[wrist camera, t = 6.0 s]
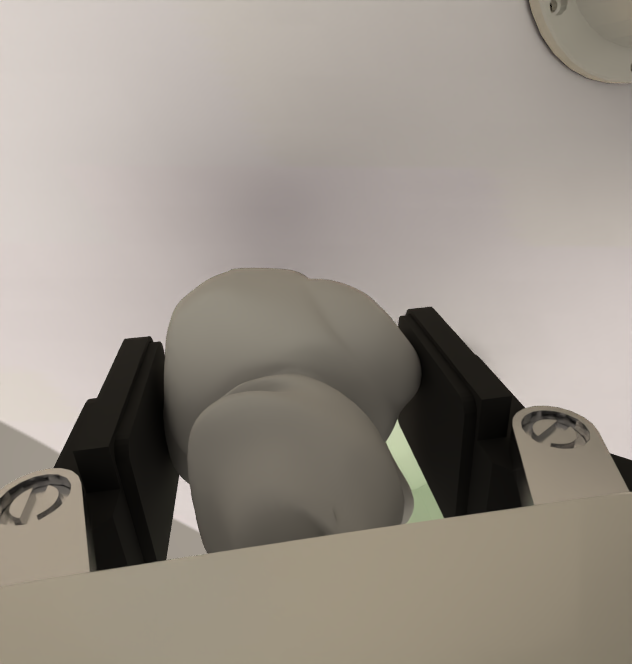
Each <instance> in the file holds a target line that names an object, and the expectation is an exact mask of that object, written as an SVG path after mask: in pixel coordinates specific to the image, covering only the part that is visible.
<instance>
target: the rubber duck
mask: <svg viewBox="0 0 632 664" xmlns="http://www.w3.org/2000/svg"><path fill="white" fill-rule="evenodd" d="M421 377H422V368H421V363H420V359H419V357H418V355H417V352H416V351H415V349H414V348H413V346H412V345H411V344H410V342H409V341H408V340H407V338H406V337H405V336H404V334H403V333H402V332H401V330H400V329H399V328H398V326H397V325H396V324H395V323H394V321H393V320H392V319H391V317H390V316H389V315H388V314H387V313H386V312H385V311H384V310H383V309H382V308H381V307H380V306H379V305H378V304H377V303H376V302H375V301H374V300H373V299H372V298H371V297H369V296H368V295H366V294H365V293H363V292H361V291H360V290H358V289H356V288H353V287H351V286H349V285H346V284H343V283H340V282H336V281H332V280H326V279H309V278H307V277H306V276H305V275H303V274H301V273H299V272H296V271H293V270H286V269H273V268H238V269H231V270H230V271H228V272H225V273H222V274H219V275H216V276H214V277H212V278H210V279H208V280H206V281H205V282H203V283H202V284H200V285H199V286H198V287H196V288H195V289H194V290H193V291H191V292H190V293H189V294H188V295H186V296H185V297H184V298H183V299H182V300H181V301H180V302H179V303H178V305H177V306H176V308H175V310H174V312H173V314H172V317H171V320H170V323H169V327H168V331H167V336H166V349H165V365H164V408H163V421H164V431H165V438H166V442H167V446H168V451H169V455H170V457H171V460H172V463H173V465H174V467H175V469H176V471H177V472H178V473H179V475H180V476H181V477H182V478H183V479H184V480H185V481H186V482H187V483H189V484H190V489H191V496H192V501H193V505H194V509H195V514H196V520H197V524H198V528H199V532H200V535H201V539H202V542H203V545H204V548H205V549H206V551H207V553H208V554H209V553H215V552H222V551H229V550H235V549H242V548H248V547H255V546H262V545H268V544H275V543H281V542H288V541H294V540H301V539H308V538H314V537H321V536H327V535H334V534H341V533H347V532H354V531H361V530H368V529H374V528H381V527H388V526H395V525H401V524H406V523H407V522H408V521H409V519H410V517H411V515H412V513H413V509H414V498H413V494H412V491H411V488H410V486H409V484H408V482H407V480H406V478H405V477H404V475H403V473H402V472H401V470H400V469H399V467H398V465H397V463H396V461H395V460H394V458H393V456H392V454H391V452H390V450H389V448H388V446H387V443H386V441H387V439H388V438H389V436H390V434H391V433H392V431H393V429H394V427H395V424H396V422H397V419H398V416H399V414H400V412H401V411H402V409H403V408H404V407H405V405H406V404H407V403H408V402H409V401H410V400H411V399H412V398H413V397H414V395H415V394H416V392H417V391H418V388H419V386H420V383H421Z"/></svg>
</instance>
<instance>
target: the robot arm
mask: <svg viewBox="0 0 632 664" xmlns="http://www.w3.org/2000/svg"><path fill="white" fill-rule="evenodd" d="M529 2H530V7H531V12H532V14H533V16H534V19H535V21H536V24H537V26H538V29H539V31H540V33H541V36H542V37H543V38H544V40H545V41H546V43H547V44H548V46H549V47H550V49H551V50H552V52H553V53H554V54H555V55H556V56H557V57H558V58H559V59H560V60H561V61H562V62H563V63H564V64H565V65H567V66H568V67H569V68H570V69H572V70H573V71H575V72H577V73H579V74H581V75H583V76H585V77H586V78H589V79H593V80H597V81H601V82H605V83H632V0H529ZM550 3H551V4H552V10H551V11H550ZM398 328H399V329H400V330H401V332H402V333H403V334H404V336H405V337H406V338H407V340H408V341H409V342H410V344H411V345H412V346H413V348H414V349H415V351H416V352H417V355H418V357H419V359H420V363H421V368H422V377H421V383H420V386H419V388H418V391H417V392H416V394H415V395H414V397H413V398H412V399H411V400H410V401H409V402H408V403H407V404H406V405H405V407H404V408H403V409H402V411H401V412H400V414H399V416H398V423H399V425H400V428H401V430H402V432H403V434H404V436H405V438H406V440H407V442H408V444H409V446H410V448H411V451H412V453H413V455H414V457H415V459H416V461H417V463H418V465H419V467H420V469H421V471H422V473H423V475H424V478H425V480H426V482H427V484H428V486H429V488H430V490H431V492H432V494H433V496H434V498H435V500H436V502H437V505H438V507H439V509H440V511H441V513H442V515H443V517H444V518H442V519H436V520H429V521H422V522H415V523H408V524H401V525H395V526H388V527H381V528H374V529H368V530H361V531H354V532H347V533H341V534H334V535H327V536H321V537H314V538H308V539H301V540H294V541H288V542H281V543H275V544H268V545H262V546H255V547H248V548H242V549H235V550H229V551H222V552H215V553H209V554H202V555H196V556H189V557H184V558H176V559H170V560H166V558H167V551H168V545H169V538H170V532H171V525H172V519H173V512H174V506H175V499H176V493H177V486H178V480H179V473H178V472H177V471H176V469H175V467H174V465H173V463H172V460H171V457H170V455H169V451H168V446H167V442H166V438H165V431H164V421H163V408H164V365H165V354H164V350H163V346H162V343H161V342H153V340H152V338H151V336H148V337H138V338H129V339H124V341H123V343H122V345H121V347H120V349H119V351H118V354H117V356H116V358H115V360H114V362H113V364H112V367H111V369H110V371H109V373H108V375H107V377H106V380H105V382H104V384H103V386H102V388H101V390H100V393H99V395H98V397H97V398H93V399H89V400H87V402H86V403H85V405H84V407H83V409H82V411H81V413H80V415H79V417H78V419H77V421H76V423H75V425H74V427H73V429H72V431H71V433H70V435H69V438H68V440H67V442H66V444H65V446H64V448H63V450H62V452H61V454H60V456H59V458H58V460H57V462H56V464H55V466H54V468H49V469H44V470H39V471H35V472H32V473H29V474H27V475H24V476H22V477H20V478H17V479H16V480H14V481H12V482H11V483H9V484H7V485H6V486H4V487H3V488H2V489H1V490H0V664H632V460H629V459H626V458H623V457H620V456H617V455H614V454H611V453H609V451H608V449H607V447H606V445H605V443H604V441H603V439H602V437H601V435H600V433H599V431H598V430H597V429H596V428H595V426H594V425H593V424H592V423H591V422H590V421H588V420H587V419H585V418H584V417H583V416H580V415H578V414H576V413H574V412H572V411H569V410H565V409H562V408H559V407H551V406H532V407H528V408H525V407H524V406H523V405H522V404H521V403H520V402H519V401H518V399H517V398H516V397H515V396H514V395H513V394H512V393H511V392H510V391H509V390H508V388H507V387H506V386H505V385H504V384H503V383H502V382H501V381H500V380H499V379H498V377H497V376H496V375H495V374H494V373H493V372H492V371H491V370H490V369H489V368H488V366H487V365H486V364H485V363H484V362H483V361H482V360H481V359H480V358H479V357H478V356H477V355H475V354H474V353H473V352H472V351H471V350H470V348H469V347H468V346H467V345H466V344H465V343H464V342H463V341H462V340H461V338H460V337H459V336H458V335H457V334H456V333H455V332H454V331H453V330H452V328H451V327H450V326H449V325H448V324H447V323H446V322H445V321H444V320H443V318H442V317H441V316H440V315H439V314H438V313H437V312H436V311H435V310H434V308H432V307H425V308H415V309H408V310H407V312H406V315H405V316H400V317H399V324H398Z"/></svg>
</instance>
